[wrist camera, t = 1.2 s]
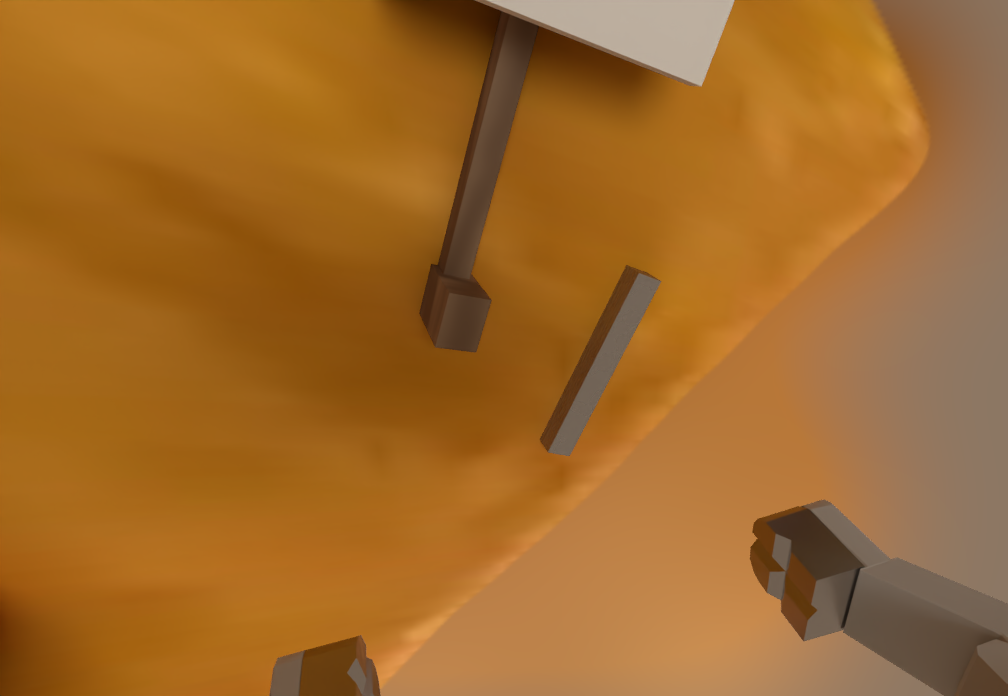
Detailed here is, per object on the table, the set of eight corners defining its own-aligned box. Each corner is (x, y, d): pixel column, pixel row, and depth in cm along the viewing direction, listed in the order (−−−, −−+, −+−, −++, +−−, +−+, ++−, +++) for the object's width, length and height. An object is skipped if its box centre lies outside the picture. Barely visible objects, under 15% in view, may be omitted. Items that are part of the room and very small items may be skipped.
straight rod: (538, 437, 53) (547, 452, 51) (624, 263, 47) (638, 273, 45) (559, 441, 54) (569, 456, 52) (646, 271, 49) (661, 281, 46)
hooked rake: (367, 305, 42) (376, 339, 37) (482, -254, 30) (520, -318, 25) (502, 325, 46) (526, 359, 41) (649, -156, 34) (710, -192, 29)
